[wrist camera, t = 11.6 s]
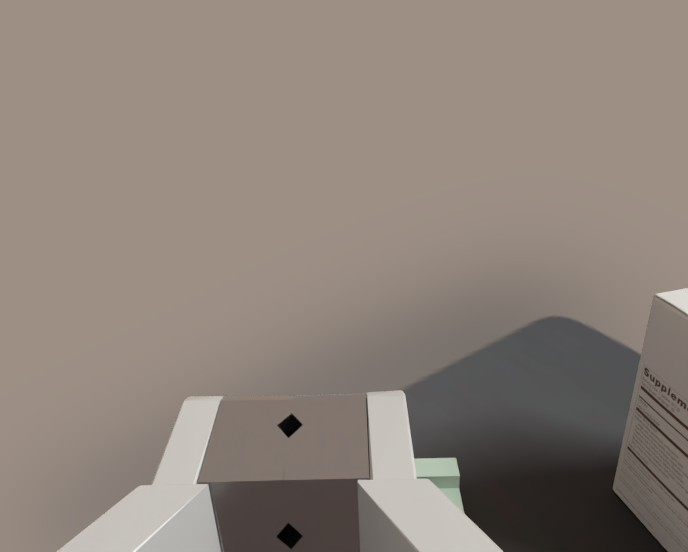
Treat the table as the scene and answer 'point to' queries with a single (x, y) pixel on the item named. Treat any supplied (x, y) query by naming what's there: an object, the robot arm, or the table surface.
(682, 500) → the supplement box
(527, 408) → the table surface
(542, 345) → the table surface
